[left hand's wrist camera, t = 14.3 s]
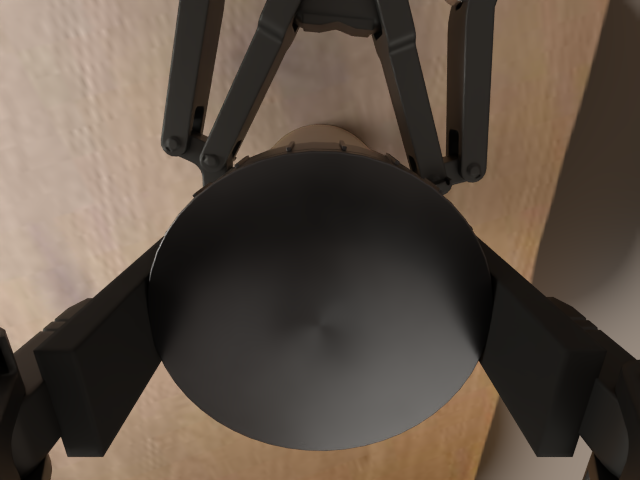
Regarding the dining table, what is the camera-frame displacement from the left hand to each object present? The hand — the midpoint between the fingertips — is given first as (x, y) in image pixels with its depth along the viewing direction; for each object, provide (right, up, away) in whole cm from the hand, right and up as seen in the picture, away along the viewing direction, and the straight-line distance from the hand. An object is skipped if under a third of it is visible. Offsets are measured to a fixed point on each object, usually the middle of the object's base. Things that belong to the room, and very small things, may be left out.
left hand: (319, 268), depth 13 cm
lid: (0, -1, -3) cm, 3 cm away
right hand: (0, -2, +8) cm, 9 cm away
